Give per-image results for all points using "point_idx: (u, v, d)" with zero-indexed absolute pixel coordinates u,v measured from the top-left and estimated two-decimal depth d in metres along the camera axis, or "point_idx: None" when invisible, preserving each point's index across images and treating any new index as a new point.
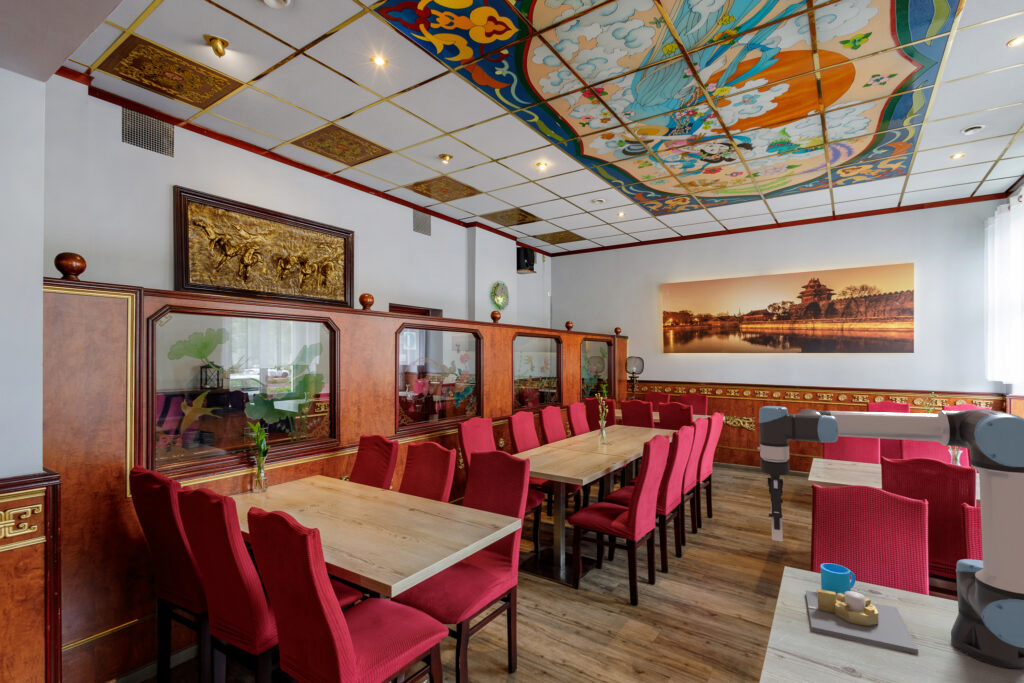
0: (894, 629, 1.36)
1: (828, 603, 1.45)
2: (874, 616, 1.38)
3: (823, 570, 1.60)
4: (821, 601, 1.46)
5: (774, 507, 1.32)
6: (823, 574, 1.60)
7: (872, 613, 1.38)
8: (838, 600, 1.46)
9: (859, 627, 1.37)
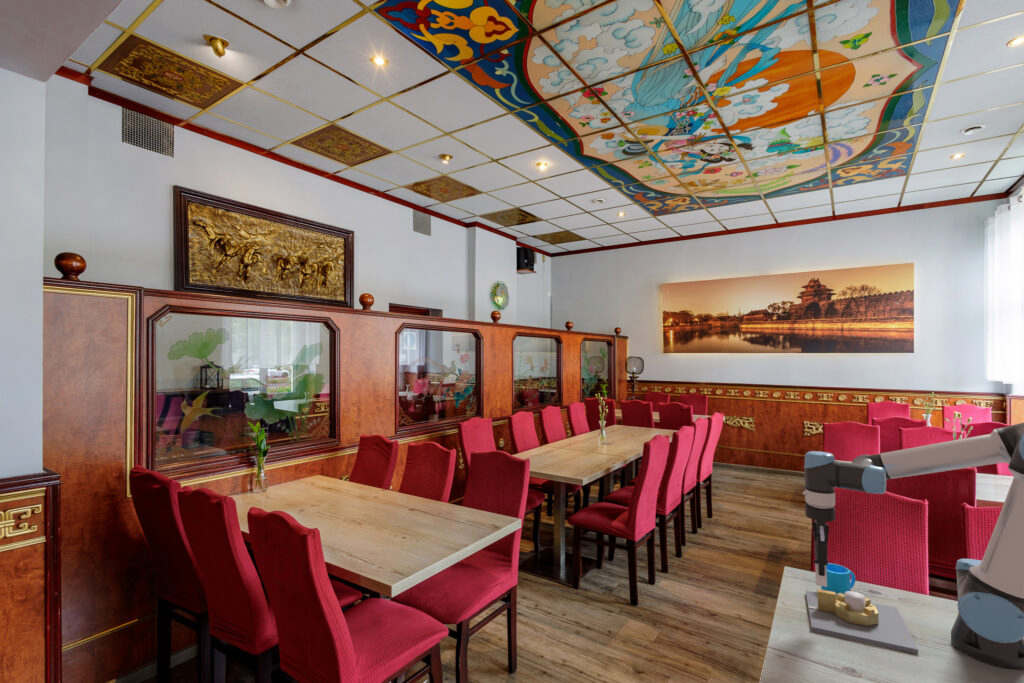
0: (894, 629, 1.36)
1: (828, 603, 1.45)
2: (874, 616, 1.38)
3: None
4: (821, 601, 1.46)
5: (820, 557, 1.39)
6: None
7: (872, 613, 1.38)
8: (838, 600, 1.46)
9: (859, 627, 1.37)
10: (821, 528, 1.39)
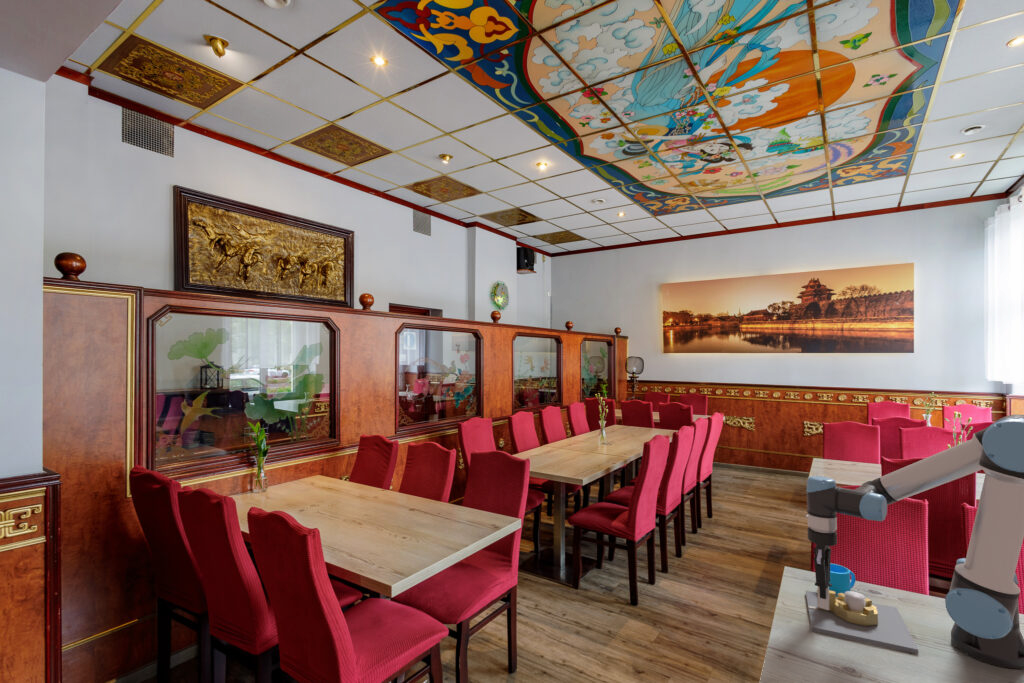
0: (894, 629, 1.36)
1: None
2: (873, 617, 1.38)
3: None
4: None
5: (818, 580, 1.43)
6: None
7: (871, 613, 1.38)
8: (839, 599, 1.47)
9: (859, 627, 1.37)
10: (819, 551, 1.43)
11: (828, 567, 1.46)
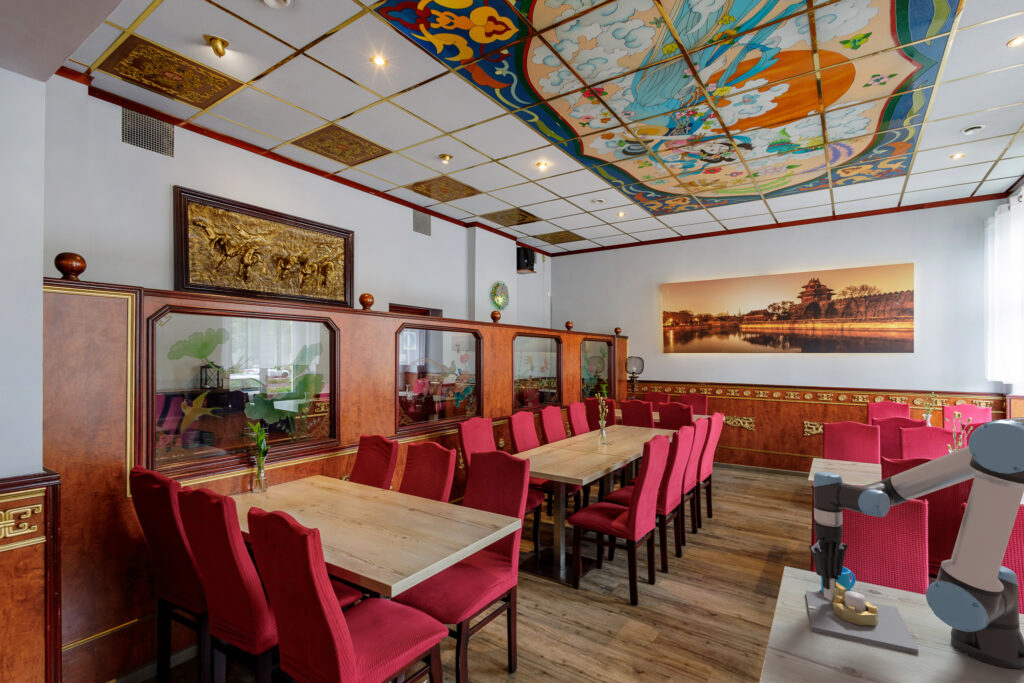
0: (894, 629, 1.36)
1: None
2: (853, 615, 1.39)
3: None
4: None
5: (817, 568, 1.50)
6: None
7: (851, 611, 1.40)
8: None
9: (859, 627, 1.37)
10: (818, 542, 1.50)
11: (836, 561, 1.50)
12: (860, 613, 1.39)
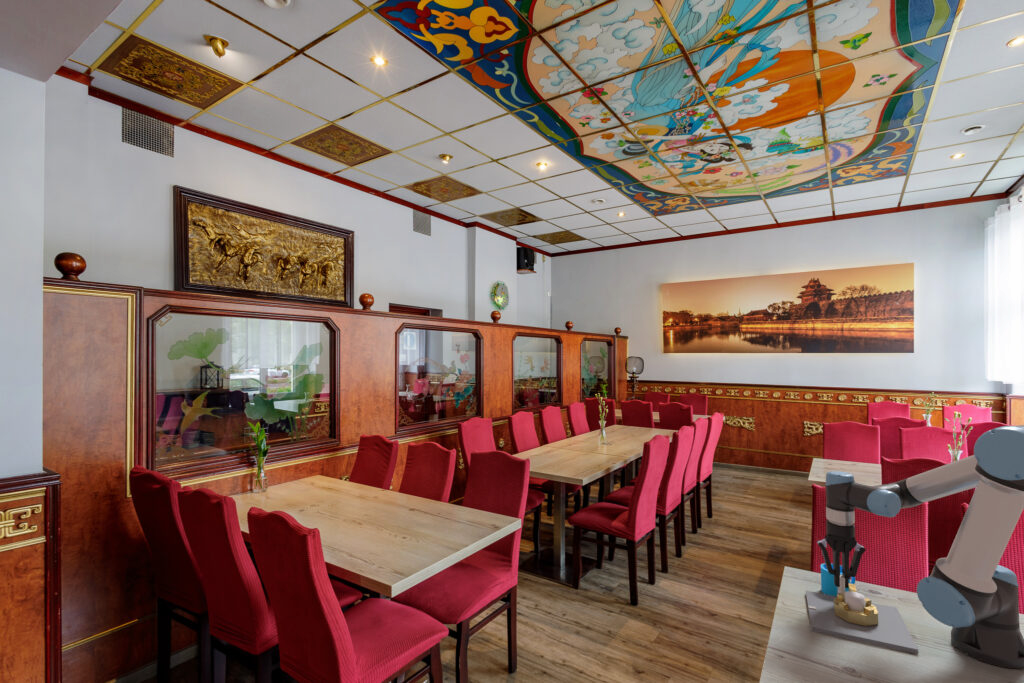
0: (894, 629, 1.36)
1: None
2: (843, 611, 1.41)
3: (823, 570, 1.60)
4: None
5: (825, 564, 1.53)
6: (823, 574, 1.60)
7: (841, 606, 1.42)
8: None
9: (859, 627, 1.37)
10: (826, 538, 1.53)
11: (847, 561, 1.50)
12: (850, 611, 1.40)
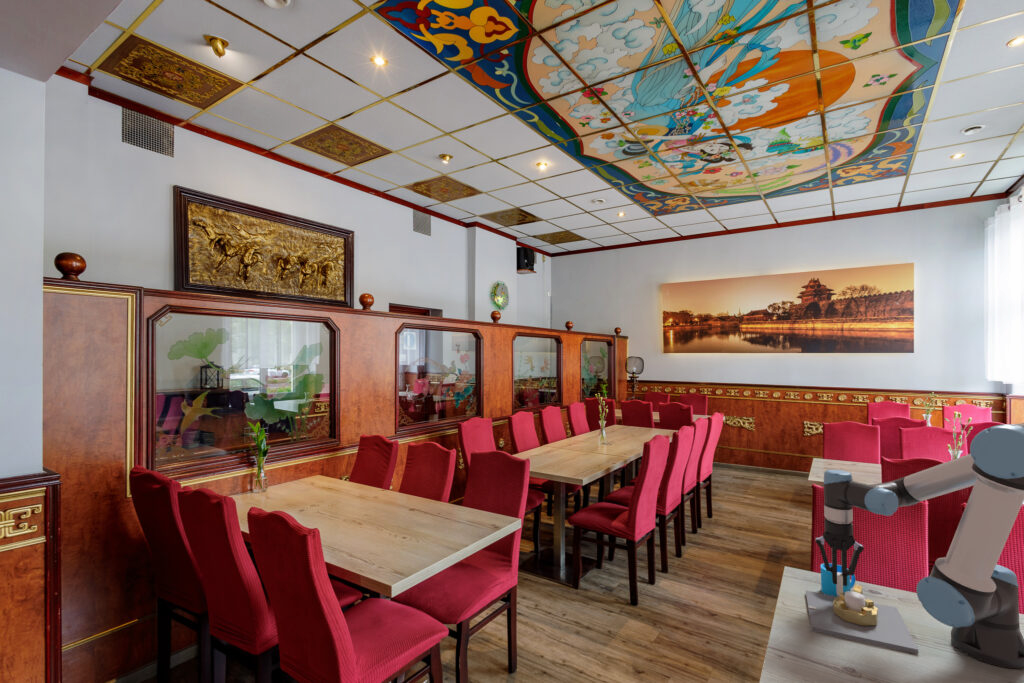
0: (894, 629, 1.36)
1: None
2: (840, 610, 1.42)
3: (823, 570, 1.60)
4: None
5: None
6: (823, 574, 1.60)
7: (838, 605, 1.43)
8: None
9: (859, 627, 1.37)
10: None
11: (845, 559, 1.50)
12: (846, 609, 1.41)
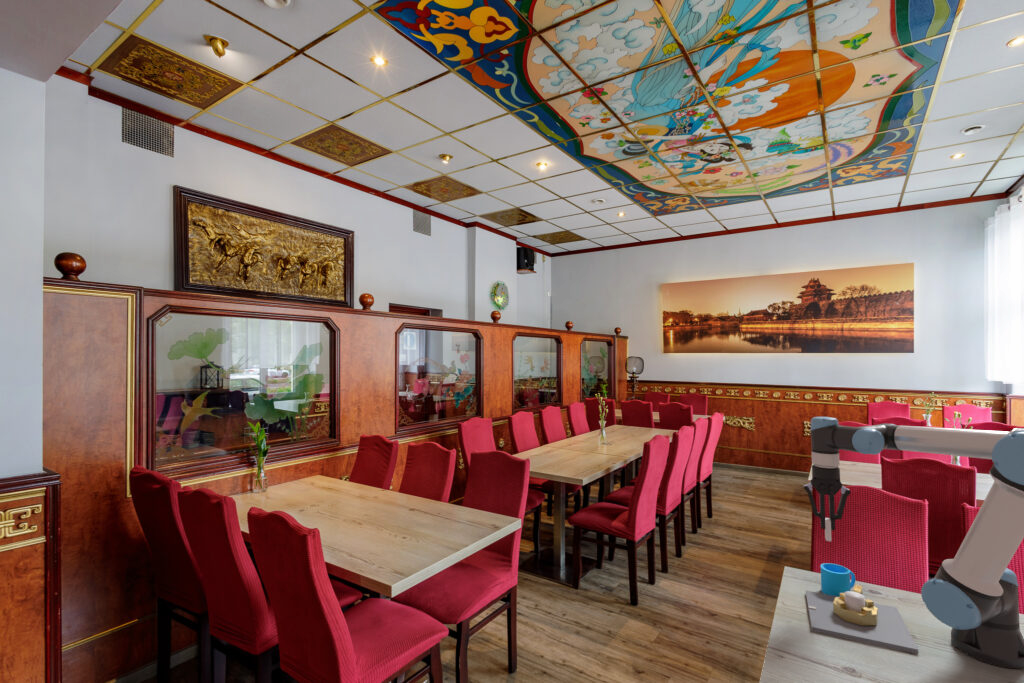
0: (894, 629, 1.36)
1: None
2: (840, 610, 1.42)
3: (823, 570, 1.60)
4: None
5: None
6: (823, 574, 1.60)
7: (838, 605, 1.43)
8: None
9: (859, 627, 1.37)
10: None
11: (833, 503, 1.52)
12: (846, 609, 1.41)
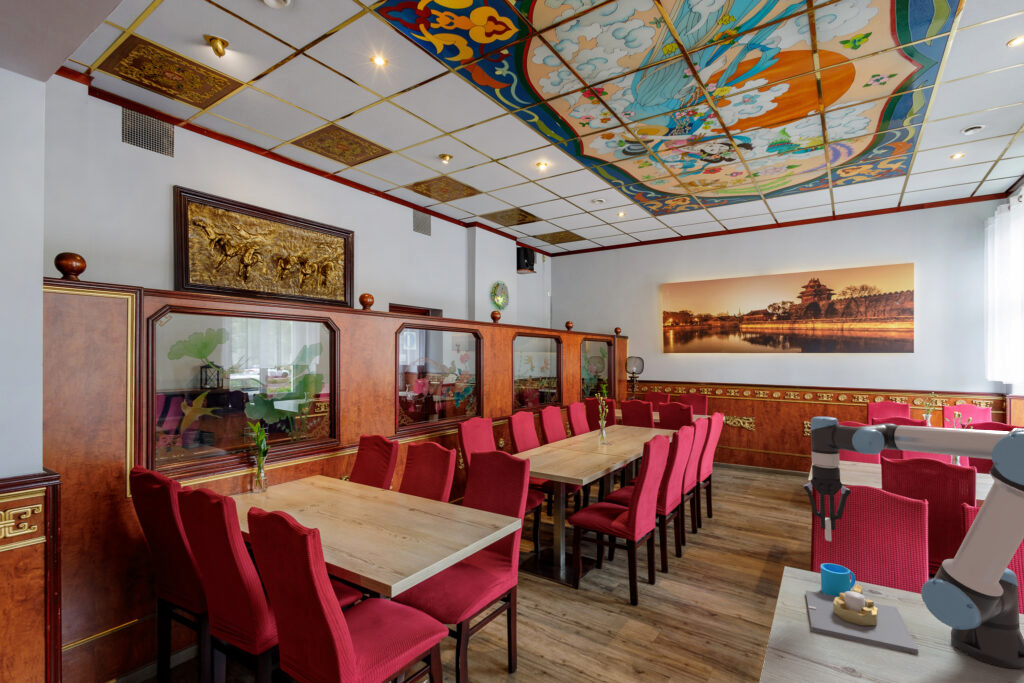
0: (894, 629, 1.36)
1: None
2: (840, 610, 1.42)
3: (823, 570, 1.60)
4: None
5: None
6: (823, 574, 1.60)
7: (838, 605, 1.43)
8: None
9: (859, 627, 1.37)
10: None
11: (833, 503, 1.52)
12: (846, 609, 1.41)
